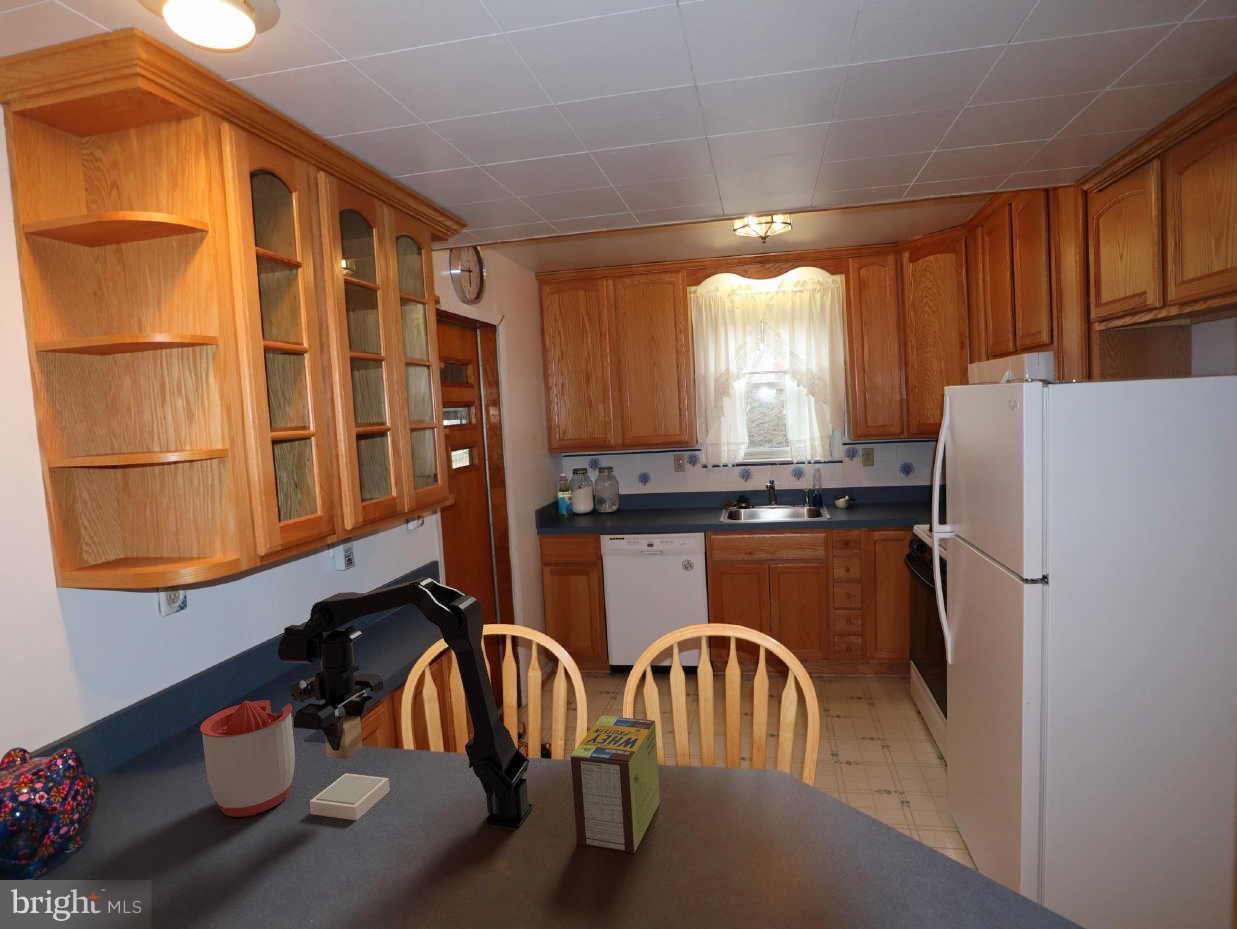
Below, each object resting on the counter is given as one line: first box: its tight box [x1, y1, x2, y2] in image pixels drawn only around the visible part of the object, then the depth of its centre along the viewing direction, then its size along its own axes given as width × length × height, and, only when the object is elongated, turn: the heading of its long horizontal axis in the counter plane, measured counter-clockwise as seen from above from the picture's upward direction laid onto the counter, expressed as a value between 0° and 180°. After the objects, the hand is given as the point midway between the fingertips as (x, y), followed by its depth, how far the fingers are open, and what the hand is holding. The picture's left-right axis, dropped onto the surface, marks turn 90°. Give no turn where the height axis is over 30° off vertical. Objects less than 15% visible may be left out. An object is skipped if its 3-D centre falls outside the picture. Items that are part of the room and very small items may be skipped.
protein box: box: [570, 715, 661, 854], centre depth 122 cm, size 10×15×16 cm
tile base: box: [309, 772, 391, 821], centre depth 134 cm, size 10×10×3 cm
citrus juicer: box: [199, 699, 296, 818], centre depth 136 cm, size 16×17×20 cm
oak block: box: [324, 714, 363, 760], centre depth 132 cm, size 4×4×6 cm
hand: (344, 743), depth 133 cm, fingers closed on oak block, 4 cm apart
